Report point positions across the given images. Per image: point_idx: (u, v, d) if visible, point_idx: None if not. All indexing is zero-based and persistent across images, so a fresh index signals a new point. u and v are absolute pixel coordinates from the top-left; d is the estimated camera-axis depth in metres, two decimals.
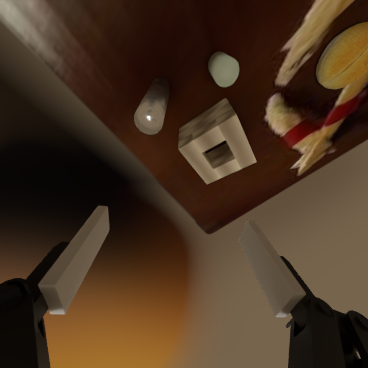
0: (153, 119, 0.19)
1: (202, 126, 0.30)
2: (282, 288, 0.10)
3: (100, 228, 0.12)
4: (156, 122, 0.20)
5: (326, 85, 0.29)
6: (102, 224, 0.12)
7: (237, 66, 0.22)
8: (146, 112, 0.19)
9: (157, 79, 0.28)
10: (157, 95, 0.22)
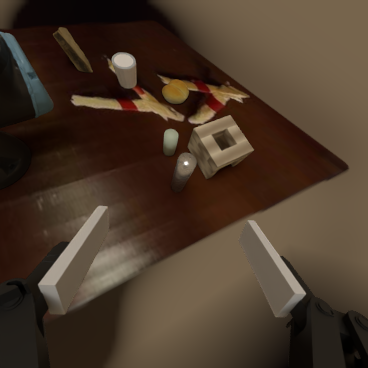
0: (186, 157, 0.29)
1: (202, 154, 0.41)
2: (282, 288, 0.10)
3: (100, 228, 0.12)
4: (188, 156, 0.29)
5: (186, 96, 0.52)
6: (102, 224, 0.12)
7: (169, 129, 0.40)
8: (181, 160, 0.28)
9: (171, 183, 0.41)
10: None
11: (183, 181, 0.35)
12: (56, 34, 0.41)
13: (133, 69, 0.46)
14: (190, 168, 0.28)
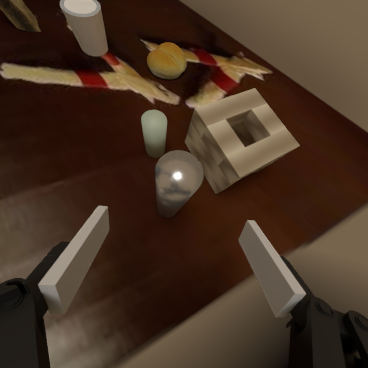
0: (177, 163, 0.11)
1: (209, 153, 0.24)
2: (282, 288, 0.10)
3: (100, 228, 0.12)
4: (183, 160, 0.12)
5: (183, 68, 0.35)
6: (102, 224, 0.12)
7: (150, 111, 0.22)
8: (165, 170, 0.11)
9: None
10: None
11: (175, 209, 0.17)
12: None
13: (96, 20, 0.29)
14: (188, 190, 0.11)
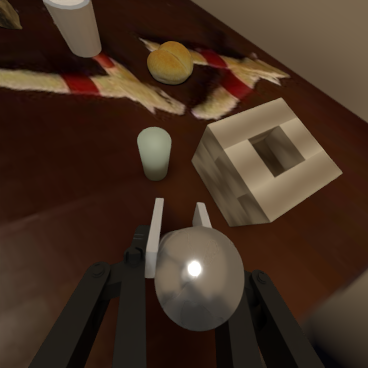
0: (196, 253, 0.06)
1: (225, 181, 0.19)
2: None
3: None
4: (206, 246, 0.06)
5: (189, 71, 0.30)
6: None
7: (149, 128, 0.17)
8: (173, 273, 0.06)
9: None
10: (160, 242, 0.10)
11: None
12: None
13: (85, 14, 0.24)
14: (218, 315, 0.06)
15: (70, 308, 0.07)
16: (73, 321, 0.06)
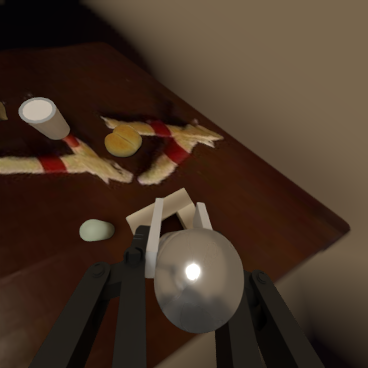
0: (195, 256, 0.06)
1: None
2: None
3: None
4: (205, 248, 0.06)
5: (137, 146, 0.40)
6: None
7: (88, 221, 0.27)
8: (173, 275, 0.06)
9: None
10: (160, 243, 0.10)
11: None
12: None
13: (52, 121, 0.33)
14: (217, 317, 0.06)
15: (70, 308, 0.07)
16: (73, 321, 0.06)
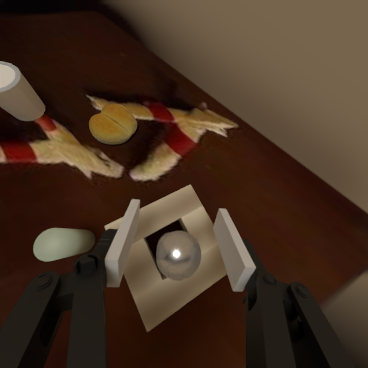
0: (176, 244, 0.12)
1: None
2: (238, 264, 0.11)
3: (136, 218, 0.14)
4: (182, 241, 0.12)
5: (131, 131, 0.31)
6: (136, 215, 0.14)
7: (49, 230, 0.18)
8: (165, 254, 0.12)
9: None
10: (159, 240, 0.17)
11: None
12: None
13: (15, 92, 0.25)
14: (186, 274, 0.12)
15: (7, 330, 0.06)
16: (12, 342, 0.06)
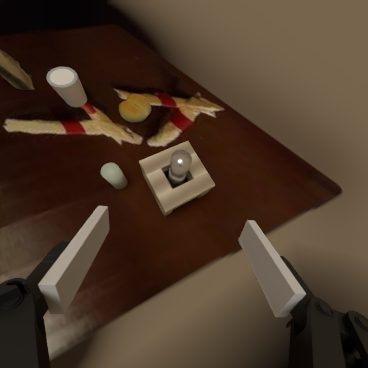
0: (180, 155, 0.26)
1: (153, 190, 0.34)
2: (282, 288, 0.10)
3: (100, 228, 0.12)
4: (182, 153, 0.26)
5: (147, 113, 0.45)
6: (102, 224, 0.12)
7: (107, 164, 0.32)
8: (175, 158, 0.26)
9: None
10: None
11: (179, 181, 0.32)
12: None
13: (74, 86, 0.39)
14: (185, 166, 0.25)
15: None
16: None
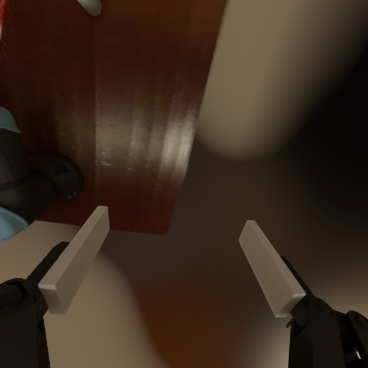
0: None
1: None
2: (282, 288, 0.10)
3: (100, 228, 0.12)
4: None
5: None
6: (102, 224, 0.12)
7: None
8: None
9: None
10: None
11: None
12: None
13: None
14: None
15: None
16: None
